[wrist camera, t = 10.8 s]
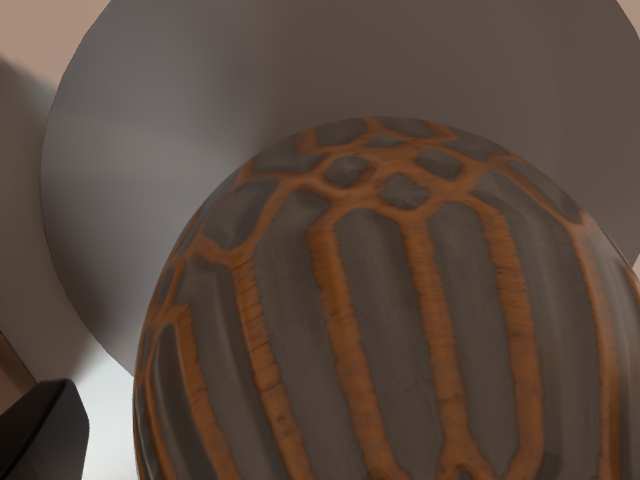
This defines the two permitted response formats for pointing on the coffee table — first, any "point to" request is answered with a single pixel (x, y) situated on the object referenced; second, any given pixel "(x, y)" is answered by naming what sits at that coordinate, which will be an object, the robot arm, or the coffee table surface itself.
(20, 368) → the box
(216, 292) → the vase
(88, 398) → the coffee table surface
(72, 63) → the coaster
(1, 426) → the robot arm
